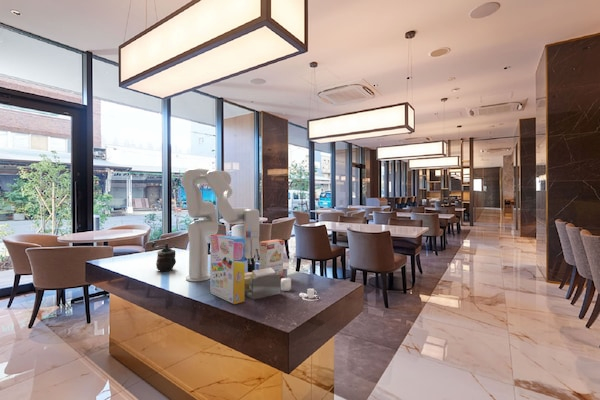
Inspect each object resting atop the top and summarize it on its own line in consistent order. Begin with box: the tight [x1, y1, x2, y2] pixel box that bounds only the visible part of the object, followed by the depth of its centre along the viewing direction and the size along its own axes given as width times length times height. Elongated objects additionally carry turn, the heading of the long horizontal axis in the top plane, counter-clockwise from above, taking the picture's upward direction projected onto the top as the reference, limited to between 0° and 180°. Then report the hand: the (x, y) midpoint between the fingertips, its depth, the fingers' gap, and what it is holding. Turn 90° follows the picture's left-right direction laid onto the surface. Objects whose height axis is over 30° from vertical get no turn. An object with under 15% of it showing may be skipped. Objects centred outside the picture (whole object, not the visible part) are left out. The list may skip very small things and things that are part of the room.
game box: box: [209, 233, 246, 305], centre depth 131 cm, size 21×6×27 cm, turn 44°
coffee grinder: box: [151, 241, 177, 272], centre depth 178 cm, size 13×15×18 cm
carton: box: [249, 268, 275, 291], centre depth 137 cm, size 9×10×4 cm
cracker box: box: [258, 238, 285, 278], centre depth 164 cm, size 14×6×21 cm, turn 144°
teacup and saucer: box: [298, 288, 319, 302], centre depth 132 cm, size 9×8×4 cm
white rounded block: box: [280, 277, 292, 292], centre depth 144 cm, size 5×5×5 cm
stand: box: [245, 272, 281, 300], centre depth 141 cm, size 20×14×9 cm
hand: (251, 271), depth 145 cm, fingers closed
